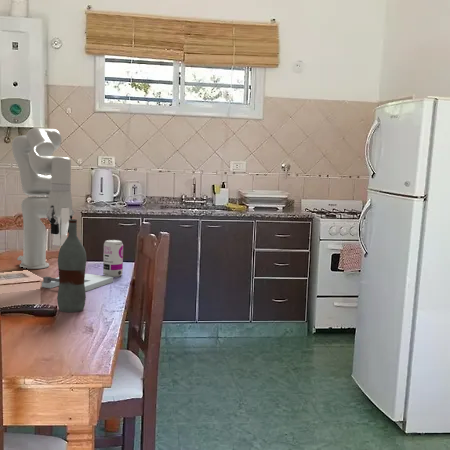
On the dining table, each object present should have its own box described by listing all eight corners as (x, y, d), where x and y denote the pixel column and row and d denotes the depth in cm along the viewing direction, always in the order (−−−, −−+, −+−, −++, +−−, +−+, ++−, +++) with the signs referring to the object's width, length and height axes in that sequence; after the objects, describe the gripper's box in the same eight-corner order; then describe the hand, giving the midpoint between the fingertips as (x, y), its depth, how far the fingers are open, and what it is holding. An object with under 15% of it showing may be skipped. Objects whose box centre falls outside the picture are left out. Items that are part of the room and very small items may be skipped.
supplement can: (124, 274, 244) (125, 240, 243) (119, 277, 236) (120, 243, 234) (106, 272, 245) (107, 239, 243) (100, 276, 237) (101, 241, 235)
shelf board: (41, 287, 213) (41, 277, 213) (76, 276, 234) (76, 267, 234) (80, 293, 207) (81, 282, 207) (113, 281, 228) (113, 272, 228)
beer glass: (63, 246, 219) (64, 208, 217) (47, 244, 220) (48, 207, 219) (72, 243, 225) (72, 207, 224) (57, 242, 227) (57, 206, 225)
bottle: (70, 314, 179) (72, 222, 176) (50, 309, 184) (51, 219, 180) (91, 308, 187) (93, 220, 184) (72, 303, 192) (73, 217, 188)
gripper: (67, 187, 230) (66, 230, 232) (38, 188, 214) (38, 234, 216) (82, 188, 227) (81, 231, 229) (53, 189, 211) (53, 236, 213)
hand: (60, 232), depth 222 cm, fingers closed on beer glass, 6 cm apart
